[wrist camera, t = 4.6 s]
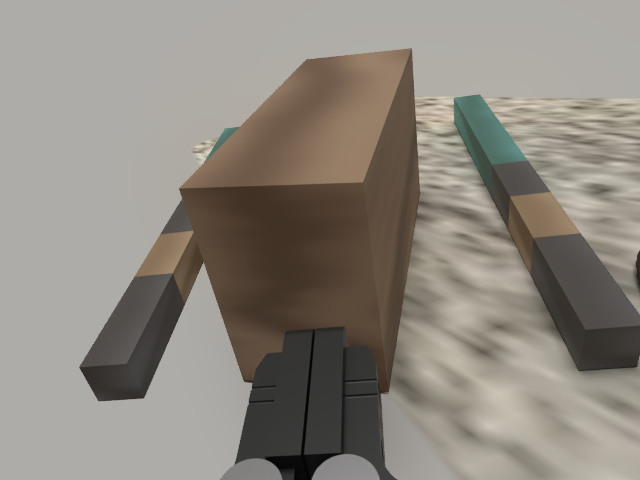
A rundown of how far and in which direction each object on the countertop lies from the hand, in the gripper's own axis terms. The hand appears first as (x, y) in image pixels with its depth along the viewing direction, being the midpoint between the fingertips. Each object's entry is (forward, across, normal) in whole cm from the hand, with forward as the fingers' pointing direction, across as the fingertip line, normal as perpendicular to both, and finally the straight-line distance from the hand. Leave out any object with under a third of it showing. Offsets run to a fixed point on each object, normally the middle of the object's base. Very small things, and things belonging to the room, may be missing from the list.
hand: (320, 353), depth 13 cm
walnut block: (+12, 0, +6) cm, 14 cm away
